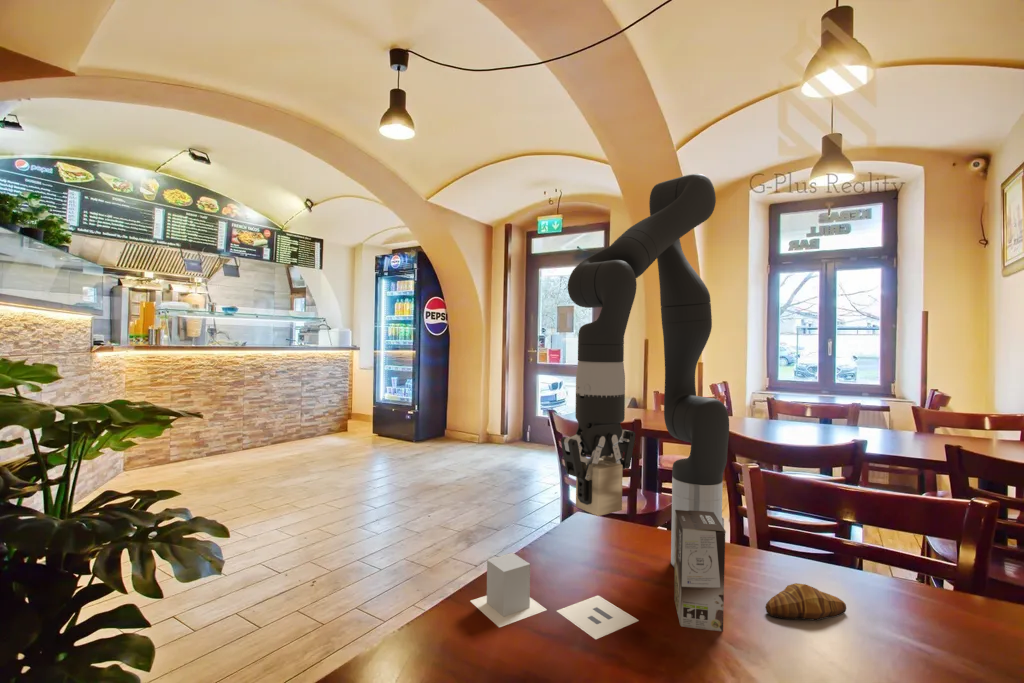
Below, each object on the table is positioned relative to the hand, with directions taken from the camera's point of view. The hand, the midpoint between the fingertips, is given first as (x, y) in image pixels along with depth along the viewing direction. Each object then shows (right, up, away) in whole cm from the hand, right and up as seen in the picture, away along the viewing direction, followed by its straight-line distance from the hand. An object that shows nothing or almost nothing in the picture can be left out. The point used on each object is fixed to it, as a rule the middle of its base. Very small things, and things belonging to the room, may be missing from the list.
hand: (598, 499), depth 79 cm
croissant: (+34, -20, +4) cm, 40 cm away
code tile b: (-14, -19, +3) cm, 24 cm away
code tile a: (0, -19, 0) cm, 19 cm away
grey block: (-14, -18, +3) cm, 23 cm away
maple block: (0, -1, 0) cm, 1 cm away
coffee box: (+16, -20, +1) cm, 25 cm away
